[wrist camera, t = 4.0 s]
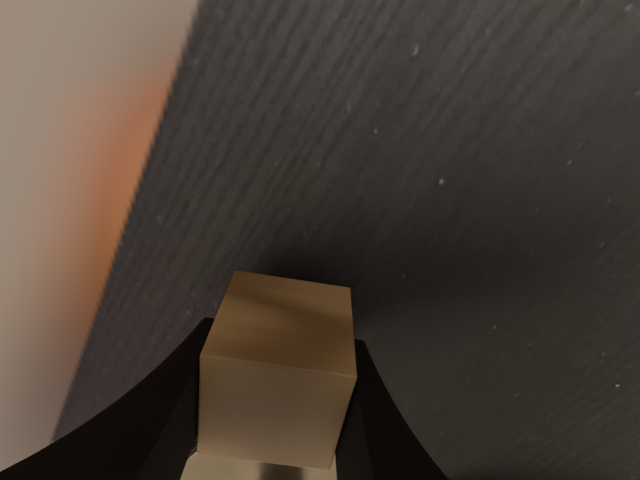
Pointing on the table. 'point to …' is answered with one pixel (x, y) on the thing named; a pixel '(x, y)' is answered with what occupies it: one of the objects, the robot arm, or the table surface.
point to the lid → (248, 469)
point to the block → (277, 372)
